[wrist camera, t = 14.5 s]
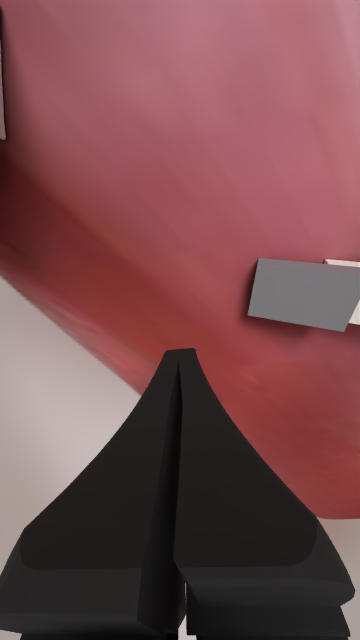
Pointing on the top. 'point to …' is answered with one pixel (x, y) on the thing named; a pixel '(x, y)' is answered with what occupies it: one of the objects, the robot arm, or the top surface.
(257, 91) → the top surface
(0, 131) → the skincare box
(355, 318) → the ivory domino
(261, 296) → the charcoal domino
